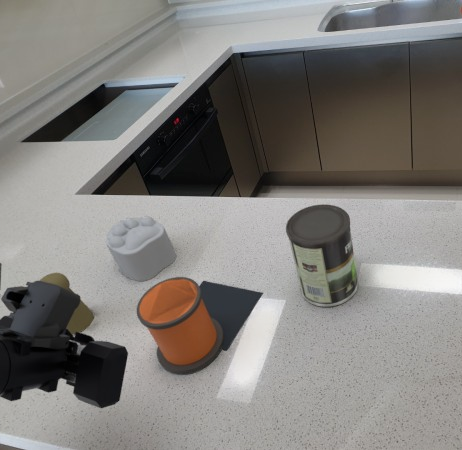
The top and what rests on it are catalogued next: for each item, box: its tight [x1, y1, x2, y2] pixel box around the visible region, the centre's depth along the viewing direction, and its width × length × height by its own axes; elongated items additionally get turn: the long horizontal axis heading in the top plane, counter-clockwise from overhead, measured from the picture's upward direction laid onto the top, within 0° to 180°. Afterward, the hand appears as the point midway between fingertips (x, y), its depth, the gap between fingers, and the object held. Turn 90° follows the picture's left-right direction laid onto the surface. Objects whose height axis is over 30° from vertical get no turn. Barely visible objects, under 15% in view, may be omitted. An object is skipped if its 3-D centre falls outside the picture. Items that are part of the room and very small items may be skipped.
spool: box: [136, 276, 224, 375], centre depth 72 cm, size 11×11×11 cm
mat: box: [199, 280, 264, 351], centre depth 81 cm, size 13×13×1 cm
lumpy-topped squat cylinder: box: [105, 215, 177, 282], centre depth 94 cm, size 10×13×9 cm
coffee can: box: [285, 204, 359, 308], centre depth 77 cm, size 10×10×14 cm
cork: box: [38, 272, 95, 336], centre depth 81 cm, size 6×6×11 cm
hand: (112, 348), depth 60 cm, fingers closed
